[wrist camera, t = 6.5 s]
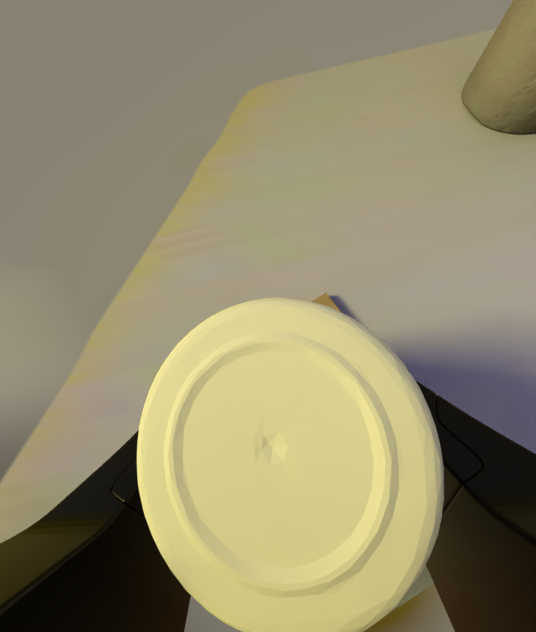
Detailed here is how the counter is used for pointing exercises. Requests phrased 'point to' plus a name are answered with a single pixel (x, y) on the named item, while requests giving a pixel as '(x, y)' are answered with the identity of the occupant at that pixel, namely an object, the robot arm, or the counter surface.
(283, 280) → the counter surface
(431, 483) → the sprinkles bottle
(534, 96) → the pillar candle
